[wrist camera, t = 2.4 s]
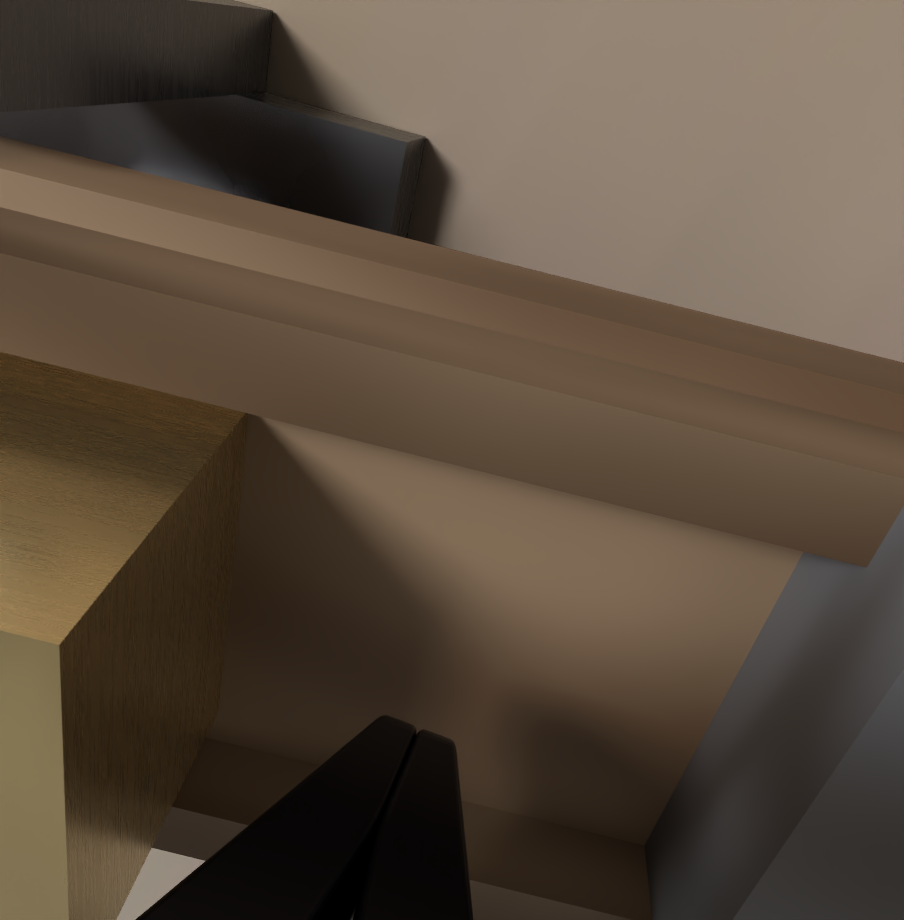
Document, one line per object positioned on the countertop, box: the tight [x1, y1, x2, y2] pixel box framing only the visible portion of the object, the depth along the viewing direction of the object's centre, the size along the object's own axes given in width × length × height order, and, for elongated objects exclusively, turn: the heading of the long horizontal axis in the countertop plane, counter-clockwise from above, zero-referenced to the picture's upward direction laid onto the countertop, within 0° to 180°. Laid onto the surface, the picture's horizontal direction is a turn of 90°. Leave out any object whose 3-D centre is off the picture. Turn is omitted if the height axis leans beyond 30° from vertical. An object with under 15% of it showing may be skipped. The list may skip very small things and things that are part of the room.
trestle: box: [0, 0, 425, 238], centre depth 13 cm, size 12×8×6 cm, turn 168°
